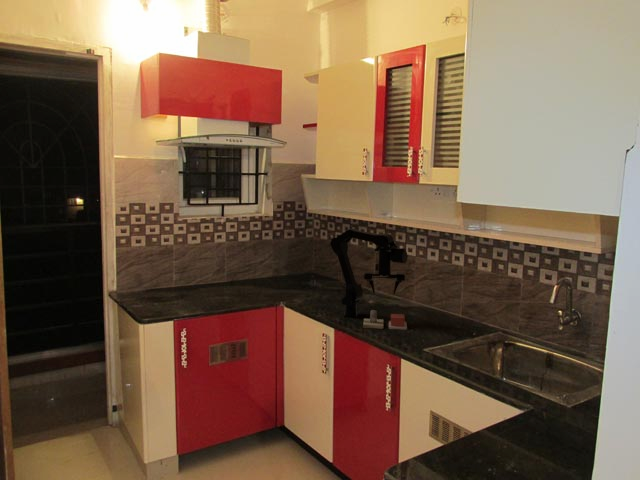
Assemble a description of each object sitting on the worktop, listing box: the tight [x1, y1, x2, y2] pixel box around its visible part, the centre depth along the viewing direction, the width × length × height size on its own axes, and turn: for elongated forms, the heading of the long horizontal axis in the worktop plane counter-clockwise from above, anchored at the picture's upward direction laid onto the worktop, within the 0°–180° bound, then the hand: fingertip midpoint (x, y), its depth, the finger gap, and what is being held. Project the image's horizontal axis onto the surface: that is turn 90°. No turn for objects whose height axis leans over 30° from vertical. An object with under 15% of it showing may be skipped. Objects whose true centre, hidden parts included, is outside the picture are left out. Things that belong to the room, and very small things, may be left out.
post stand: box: [362, 309, 384, 330], centre depth 248 cm, size 10×9×6 cm
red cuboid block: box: [390, 313, 406, 327], centre depth 247 cm, size 6×6×4 cm
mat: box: [388, 320, 408, 331], centre depth 247 cm, size 10×8×1 cm
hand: (384, 294), depth 253 cm, fingers open, 9 cm apart
